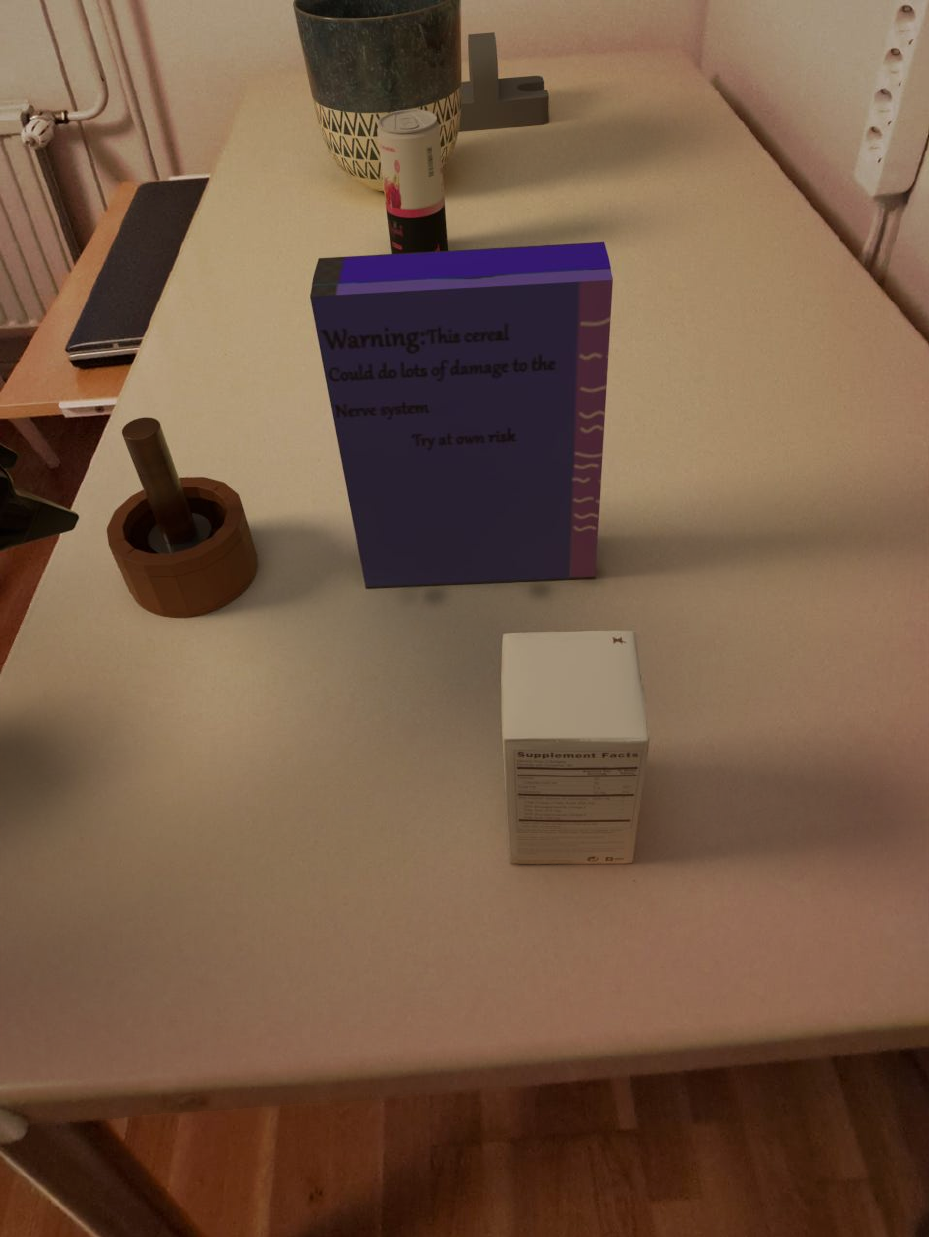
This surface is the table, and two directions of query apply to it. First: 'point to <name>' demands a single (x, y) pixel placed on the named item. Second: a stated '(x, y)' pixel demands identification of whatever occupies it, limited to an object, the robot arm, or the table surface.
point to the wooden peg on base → (163, 490)
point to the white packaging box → (573, 745)
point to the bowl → (186, 553)
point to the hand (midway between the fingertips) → (44, 489)
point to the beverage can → (413, 181)
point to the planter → (380, 72)
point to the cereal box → (469, 409)
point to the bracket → (498, 92)
